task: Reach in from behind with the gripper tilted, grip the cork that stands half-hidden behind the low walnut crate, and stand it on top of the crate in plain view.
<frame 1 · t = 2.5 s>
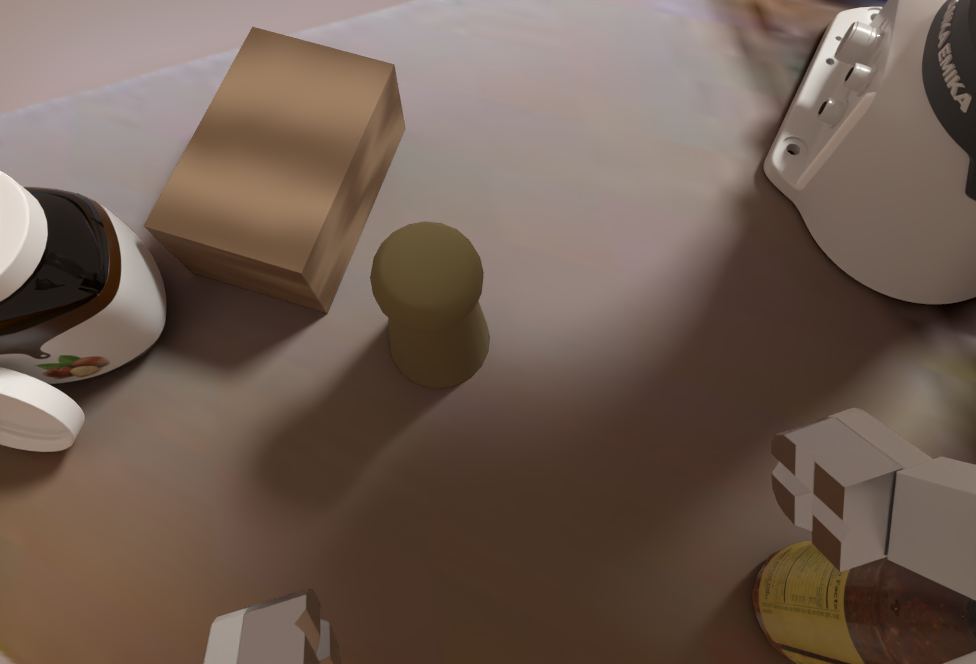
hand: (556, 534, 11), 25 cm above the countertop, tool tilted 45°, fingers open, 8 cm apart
sauce bottle: (800, 600, 34), on the countertop
walnut crate: (303, 197, 42), on the countertop
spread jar: (89, 355, 38), on the countertop
cork: (439, 340, 39), on the countertop
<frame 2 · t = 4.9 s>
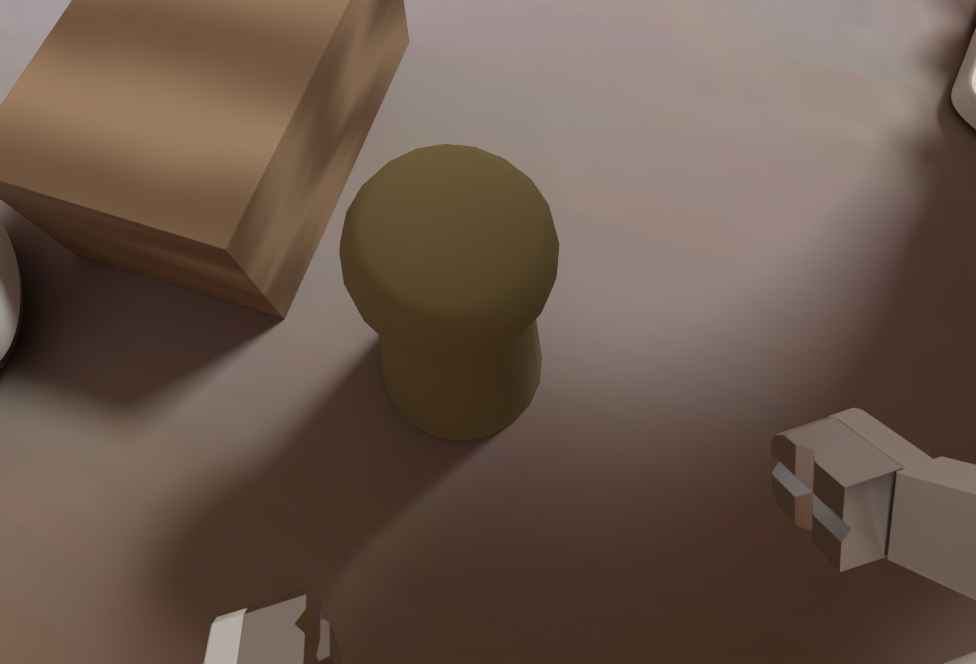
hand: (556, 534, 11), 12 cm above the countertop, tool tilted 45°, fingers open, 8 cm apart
walnut crate: (252, 140, 27), on the countertop
cork: (461, 362, 24), on the countertop
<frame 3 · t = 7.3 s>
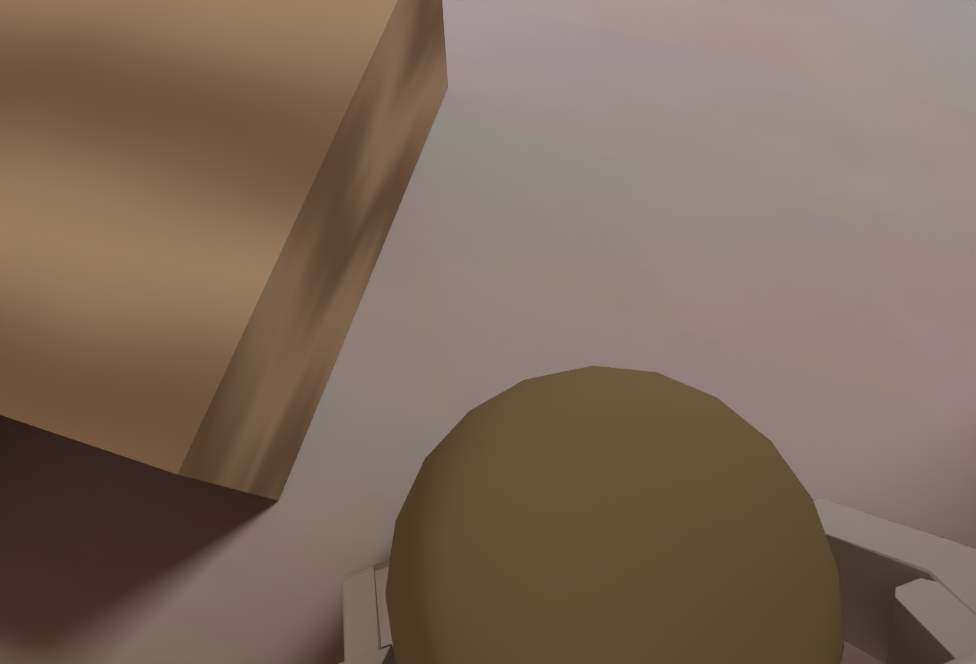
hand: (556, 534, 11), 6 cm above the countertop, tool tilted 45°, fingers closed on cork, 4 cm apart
walnut crate: (234, 228, 20), on the countertop
cork: (537, 565, 17), on the countertop, touching gripper
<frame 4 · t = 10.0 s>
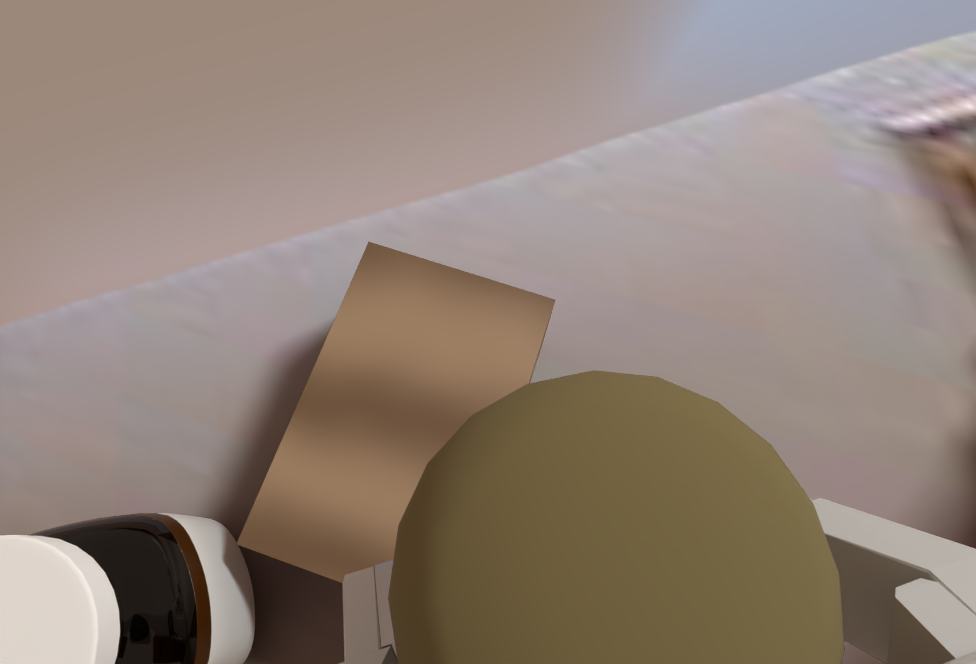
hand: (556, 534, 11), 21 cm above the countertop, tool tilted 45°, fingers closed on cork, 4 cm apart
walnut crate: (419, 437, 33), on the countertop
cork: (538, 567, 17), point 15 cm above the countertop, touching gripper
when the fingers open (14 cm above the countertop, at t = 12.7 s): cork drops 1 cm, resting on walnut crate.
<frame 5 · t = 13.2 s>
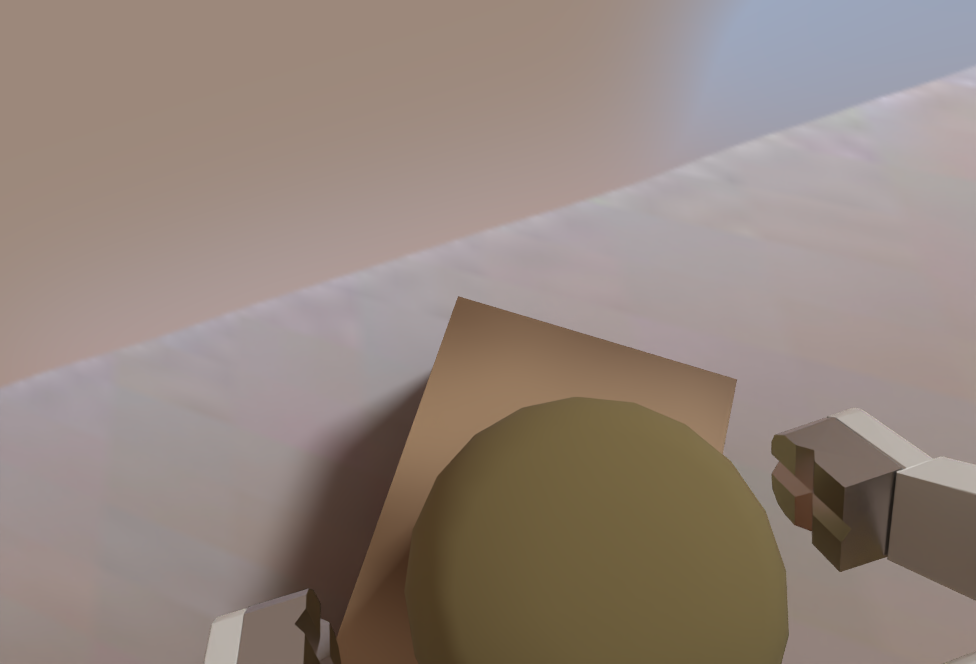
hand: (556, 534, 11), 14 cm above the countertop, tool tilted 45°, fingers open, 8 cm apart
walnut crate: (519, 561, 24), on the countertop
cork: (535, 566, 18), point 6 cm above the countertop, touching walnut crate
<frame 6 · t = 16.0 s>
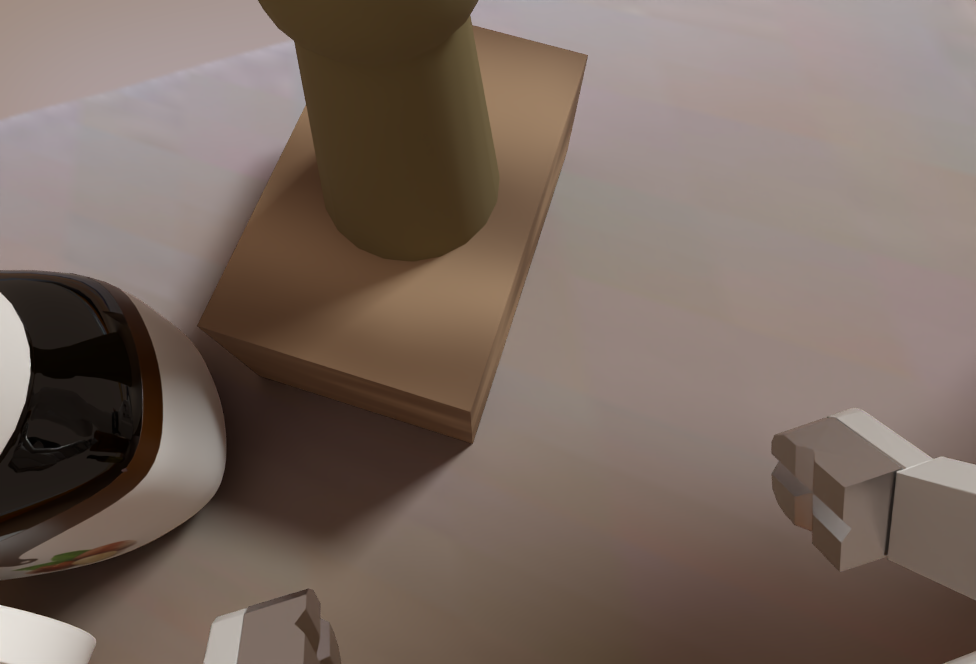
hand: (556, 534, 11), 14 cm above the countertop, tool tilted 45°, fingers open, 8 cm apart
walnut crate: (423, 256, 28), on the countertop
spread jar: (101, 512, 24), on the countertop
cork: (411, 184, 22), point 6 cm above the countertop, touching walnut crate
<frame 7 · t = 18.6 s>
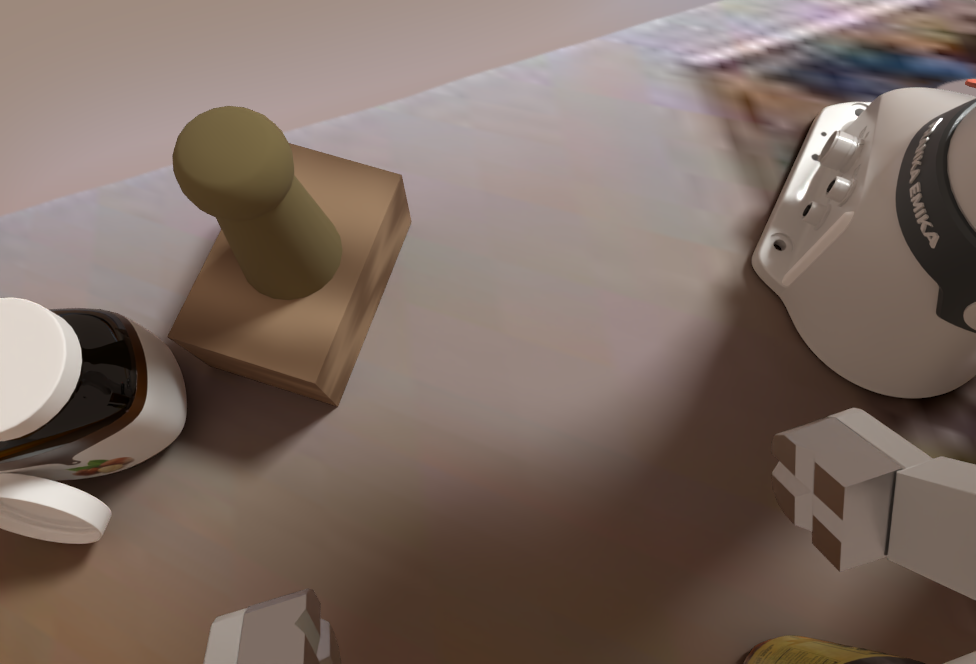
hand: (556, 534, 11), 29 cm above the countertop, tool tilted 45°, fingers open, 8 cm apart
walnut crate: (314, 290, 44), on the countertop
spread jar: (113, 447, 41), on the countertop
cork: (292, 254, 38), point 6 cm above the countertop, touching walnut crate
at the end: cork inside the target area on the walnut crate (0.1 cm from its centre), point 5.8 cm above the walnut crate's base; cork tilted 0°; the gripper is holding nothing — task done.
